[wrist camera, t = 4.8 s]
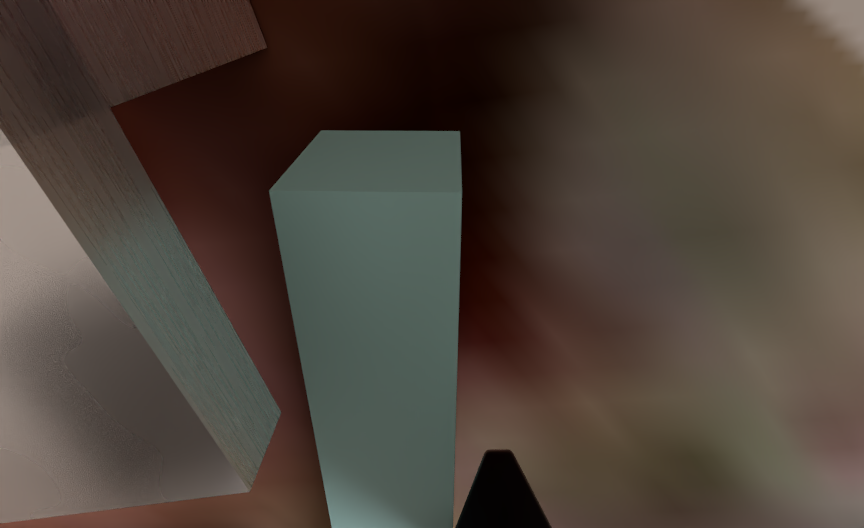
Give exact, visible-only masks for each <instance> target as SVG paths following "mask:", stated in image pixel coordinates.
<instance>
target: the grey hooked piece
mask: <svg viewBox="0 0 864 528" xmlns="http://www.w3.org/2000/svg"><path fill="white" fill-rule="evenodd" d="M265 48H267V46H266V43H265V40H264V38H263V35H262V33H261V30H260V27H259V25H258V22H257V20H256V17H255V14H254V12H253V9H252V7H251V4H250V1H249V0H0V523H8V522H15V521H23V520H31V519H39V518H47V517H55V516H63V515H71V514H79V513H86V512H94V511H102V510H110V509H118V508H126V507H134V506H142V505H150V504H158V503H165V502H173V501H181V500H189V499H197V498H205V497H213V496H221V495H229V494H236V493H244V492H250V490H251V487H252V485H253V482H254V480H255V477H256V475H257V472H258V470H259V467H260V465H261V462H262V460H263V457H264V455H265V452H266V449H267V447H268V444H269V442H270V439H271V437H272V434H273V432H274V429H275V427H276V424H277V422H278V419H279V417H280V414H281V411H280V409H279V407H278V406H277V404H276V402H275V400H274V399H273V397H272V395H271V393H270V392H269V390H268V388H267V386H266V384H265V383H264V381H263V379H262V377H261V376H260V374H259V372H258V370H257V368H256V367H255V365H254V363H253V361H252V360H251V358H250V356H249V354H248V352H247V351H246V349H245V347H244V345H243V344H242V342H241V340H240V338H239V336H238V335H237V333H236V331H235V329H234V328H233V326H232V324H231V322H230V321H229V319H228V317H227V315H226V313H225V312H224V310H223V308H222V306H221V305H220V303H219V301H218V299H217V297H216V296H215V294H214V292H213V290H212V289H211V287H210V285H209V283H208V281H207V280H206V278H205V276H204V274H203V273H202V271H201V269H200V267H199V265H198V264H197V262H196V260H195V258H194V257H193V255H192V253H191V251H190V250H189V248H188V246H187V244H186V242H185V241H184V239H183V237H182V235H181V234H180V232H179V230H178V228H177V226H176V225H175V223H174V221H173V219H172V218H171V216H170V214H169V212H168V210H167V209H166V207H165V205H164V203H163V202H162V200H161V198H160V196H159V194H158V193H157V191H156V189H155V187H154V186H153V184H152V182H151V180H150V179H149V177H148V175H147V173H146V171H145V170H144V168H143V166H142V164H141V163H140V161H139V159H138V157H137V155H136V154H135V152H134V150H133V148H132V147H131V145H130V143H129V141H128V139H127V138H126V136H125V134H124V132H123V131H122V129H121V127H120V125H119V123H118V122H117V120H116V118H115V116H114V115H113V113H112V111H111V109H110V107H113V106H115V105H118V104H120V103H123V102H126V101H128V100H131V99H134V98H136V97H139V96H141V95H144V94H147V93H149V92H152V91H155V90H157V89H160V88H162V87H165V86H168V85H170V84H173V83H176V82H178V81H181V80H183V79H186V78H189V77H191V76H194V75H196V74H199V73H202V72H204V71H207V70H210V69H212V68H215V67H217V66H220V65H223V64H225V63H228V62H231V61H233V60H236V59H238V58H241V57H244V56H246V55H249V54H252V53H254V52H257V51H259V50H262V49H265Z"/></svg>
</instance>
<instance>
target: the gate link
mask: <svg viewBox="0 0 864 528" xmlns="http://www.w3.org/2000/svg"><path fill="white" fill-rule="evenodd" d="M269 194H270V199H271V205H272V210H273V215H274V221H275V226H276V231H277V237H278V242H279V247H280V253H281V258H282V264H283V269H284V274H285V280H286V285H287V290H288V296H289V301H290V306H291V312H292V317H293V323H294V328H295V333H296V339H297V344H298V349H299V355H300V360H301V365H302V371H303V376H304V382H305V387H306V392H307V398H308V403H309V408H310V414H311V419H312V425H313V430H314V435H315V441H316V446H317V451H318V457H319V462H320V467H321V473H322V478H323V484H324V489H325V494H326V500H327V505H328V510H329V516H330V521H331V526H332V528H453V504H454V467H455V431H456V394H457V358H458V321H459V285H460V248H461V212H462V176H461V145H460V131H347V130H321V131H320V132H319V133H318V135H317V136H316V137H315V138H314V139H313V140H312V142H311V143H310V144H309V145H308V146H307V147H306V148H305V150H304V151H303V152H302V153H301V154H300V155H299V157H298V158H297V159H296V160H295V161H294V162H293V163H292V165H291V166H290V167H289V168H288V169H287V170H286V172H285V173H284V174H283V175H282V176H281V177H280V178H279V180H278V181H277V182H276V183H275V184H274V185H273V187H272V188H271V189H270V190H269Z"/></svg>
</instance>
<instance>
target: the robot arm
mask: <svg viewBox="0 0 864 528" xmlns="http://www.w3.org/2000/svg"><path fill="white" fill-rule="evenodd" d="M456 528H552V527H551V525H550V523H549V522H548V520H547V518H546V516H545V514H544V512H543V510H542V508H541V506H540V504H539V502H538V500H537V498H536V496H535V494H534V493H533V491H532V489H531V487H530V485H529V483H528V481H527V479H526V477H525V475H524V473H523V471H522V469H521V467H520V465H519V464H518V462H517V460H516V458H515V456H514V454H513V453H512V451H510V450H487V451H486V452H485V453H484V456H483V458H482V461H481V463H480V466H479V468H478V471H477V474H476V476H475V479H474V481H473V484H472V487H471V489H470V492H469V494H468V497H467V499H466V502H465V505H464V507H463V510H462V512H461V515H460V517H459V520H458V523H457V525H456Z"/></svg>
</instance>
